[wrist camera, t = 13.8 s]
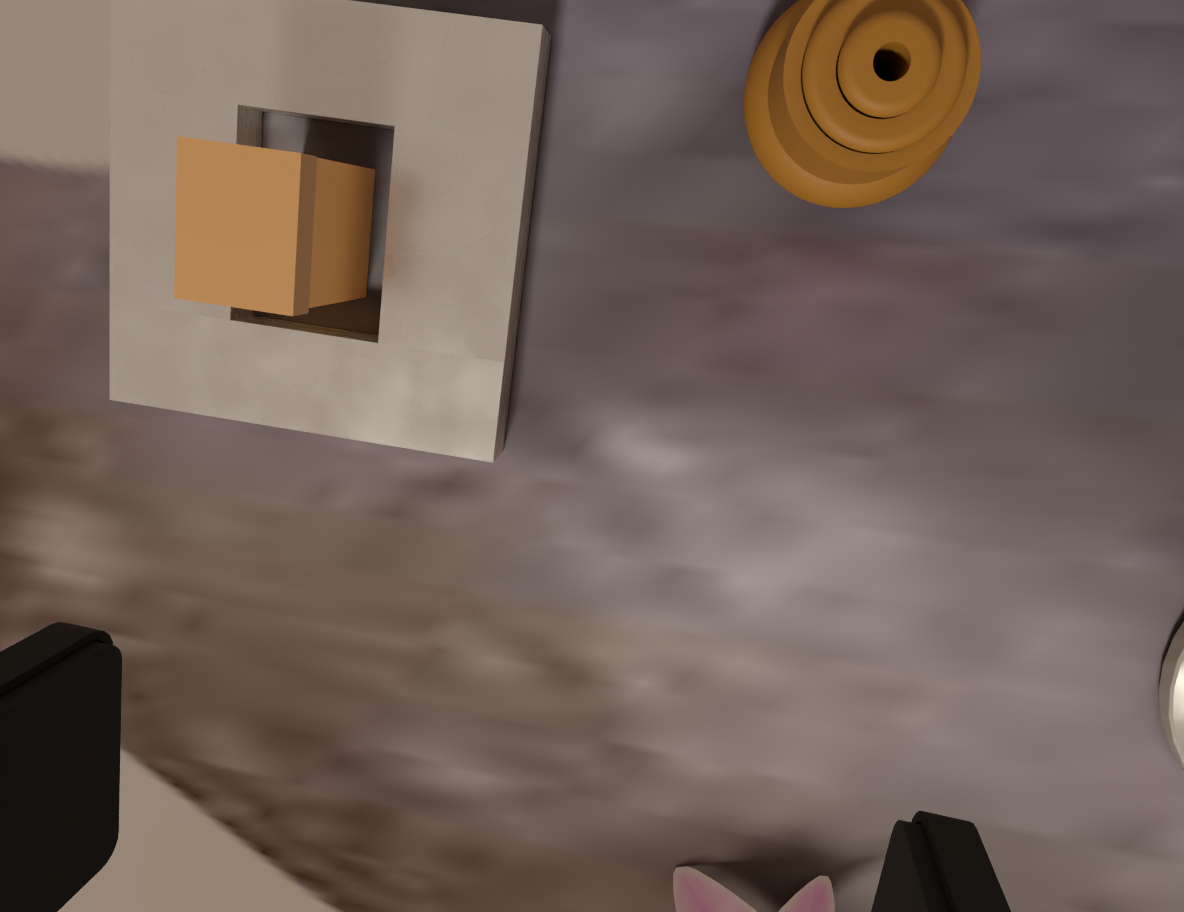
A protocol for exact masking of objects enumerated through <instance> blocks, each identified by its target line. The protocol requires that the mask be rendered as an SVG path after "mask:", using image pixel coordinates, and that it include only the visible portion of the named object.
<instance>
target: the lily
mask: <svg viewBox="0 0 1184 912" xmlns="http://www.w3.org/2000/svg"><path fill="white" fill-rule="evenodd" d="M673 891H674V899H675V907H676V912H757V911H756V910H755V909H754V908H752V907H751V906H750V905H748V904H747V903H746V902H744V901H743V900H742V899H740V898H739V897H738V896H736V895H735V894H734V893H732V892H731V891H729V890H728V889H726V888H725V887H724V886H722V885H721V884H719V883H718V882H716V881H715V880H713V879H711V878H710V877H708V876H706V875H705V874H703V873H701V872H700V871H698V870H695V869H693V868H691V867H688V866H686V867H676V869H675V871H674V874H673ZM778 912H835V905H834V894H833V889H832V884H831V880H830V879H829V877H828V876H818V877H817V878H815V879H814V880H812V881H811V882H809V883H808V884H807V885H806V886H804V887H803V888H802V889H801V890H800V891H799V892H797V893H796V894H795V895H794V896H793V897H792V898H791V899H790V900H789V901H788V902H787V903H786V904H785V905H784V906H783V907H782V908H781V909H780V910H779V911H778Z"/></svg>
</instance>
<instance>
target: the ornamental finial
mask: <svg viewBox="0 0 1184 912" xmlns="http://www.w3.org/2000/svg"><path fill="white" fill-rule="evenodd" d="M807 44H808V45H807ZM806 46H807V48H806ZM805 49H806V52H805ZM804 53H805V56H804ZM839 54H840V55H839ZM838 55H839V59H838V63H836V62H837V57H838ZM803 56H804V59H803ZM980 69H981V49H980V42H979V37H978V33H977V29H976V26H975V23H974V21H973V19H972V16H971V14H970V12H969V11H968V9H967V7H966V6H965V4H964V3H963V1H962V0H799V1H797V2H796V3H795V4H793V5H792V6H791V7H790V8H788V9H787V10H786V11H785V12H784V13H783V14H782V15H781V16H780V17H779V18H778V19H777V20H776V21H775V22H774V24H773V25H772V26H771V27H770V29H769V30H768V31H767V33H766V34H765V36H764V37H763V39H762V41H761V42H760V44H759V46H758V48H757V50H756V52H755V54H754V56H753V59H752V61H751V64H750V67H749V70H748V74H747V78H746V83H745V90H744V118H745V125H746V130H747V134H748V137H749V140H750V143H751V146H752V148H753V150H754V152H755V155H756V156H757V158H758V160H759V162H760V163H761V165H762V166H763V168H764V169H765V170H766V171H767V173H768V174H769V175H770V176H771V177H772V178H773V179H774V180H775V181H776V182H777V183H778V184H779V185H780V186H782V187H783V188H784V189H786V190H787V191H789V192H790V193H792V194H793V195H795V196H797V197H799V198H801V199H803V200H806V201H808V202H811V203H814V204H818V205H821V206H827V207H835V208H853V207H861V206H866V205H870V204H874V203H877V202H880V201H883V200H885V199H888V198H890V197H892V196H894V195H896V194H898V193H900V192H902V191H903V190H905V189H906V188H908V187H909V186H911V185H912V184H913V183H915V182H916V181H917V180H918V179H920V178H921V177H922V176H923V175H924V174H925V173H926V172H927V171H928V170H929V169H930V168H931V167H932V165H933V164H934V163H935V162H936V161H937V159H938V158H939V157H940V155H941V154H942V152H943V151H944V149H945V148H946V146H947V144H948V142H949V140H950V139H951V137H952V134H953V133H954V132H955V130H956V129H957V128H958V127H959V125H960V124H961V122H962V121H963V119H964V117H965V116H966V114H967V113H968V110H969V108H970V106H971V104H972V102H973V99H974V96H975V93H976V90H977V87H978V82H979V77H980ZM882 117H884V118H886V117H889V119H881V118H882ZM896 150H897V151H896ZM891 151H894V152H891ZM884 152H889V153H884ZM878 153H884V154H878Z"/></svg>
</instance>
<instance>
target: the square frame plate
mask: <svg viewBox="0 0 1184 912" xmlns="http://www.w3.org/2000/svg"><path fill="white" fill-rule="evenodd" d="M550 44H551V36H550V34H549V33H548V32H547V30H546V29H545V27H544V26H543V25H541V24H533V23H525V22H517V21H509V20H502V19H494V18H486V17H478V16H470V15H462V14H454V13H446V12H438V11H430V10H423V9H415V8H407V7H399V6H391V5H383V4H375V3H367V2H359V1H351V0H110V400H115V401H121V402H127V403H134V404H140V405H146V406H152V407H158V408H164V409H170V410H176V411H182V412H188V413H195V414H201V415H207V416H213V417H219V418H225V419H231V420H237V421H243V422H249V423H256V424H262V425H268V426H274V427H280V428H286V429H292V430H298V431H304V432H310V433H317V434H323V435H329V436H335V437H341V438H347V439H353V440H359V441H365V442H371V443H378V444H384V445H390V446H396V447H402V448H408V449H414V450H420V451H426V452H432V453H439V454H445V455H451V456H457V457H463V458H469V459H475V460H481V461H487V462H494V461H495V459H496V458H497V457H498V456H499V455H500V454H501V453H502V452H503V449H504V440H505V432H506V423H507V415H508V406H509V397H510V389H511V380H512V372H513V363H514V354H515V346H516V337H517V329H518V320H519V311H520V303H521V294H522V286H523V277H524V268H525V260H526V251H527V242H528V234H529V225H530V217H531V208H532V199H533V191H534V182H535V174H536V165H537V156H538V148H539V139H540V131H541V122H542V113H543V105H544V96H545V87H546V79H547V70H548V62H549V53H550ZM263 112H269V113H276V114H283V115H290V116H298V117H305V118H312V119H320V120H327V121H334V122H342V123H349V124H356V125H363V126H371V127H378V128H385V129H393V130H394V143H393V156H392V169H391V182H390V195H389V208H388V221H387V234H386V247H385V260H384V273H383V286H382V299H381V312H380V325H379V335H376V334H370V333H364V332H357V331H351V330H344V329H338V328H331V327H325V326H318V325H312V324H305V323H299V322H292V321H286V320H280V319H273V318H267V317H260V316H254V313H255V310H248V309H242V308H235V307H229V306H222V305H215V304H209V303H202V302H196V301H189V300H183V299H176V298H174V273H175V218H176V162H177V136H181V137H188V138H195V139H202V140H210V141H217V142H224V143H231V144H238V145H246V146H253V147H260V148H261V144H262V120H263Z"/></svg>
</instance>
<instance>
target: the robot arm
mask: <svg viewBox="0 0 1184 912" xmlns="http://www.w3.org/2000/svg"><path fill="white" fill-rule="evenodd" d="M121 681H122V656H121V652H120V650H119V648H117V647H116V646H113V641H112V639H111V637H110V635H109V634H107V633H106V632H105V631H101V630H97V629H92V628H88V627H83V626H78V625H74V624H69V623H64V622H57V623H54V624H51V625H49V626H47V627H45V628H44V629H42V630H40V631H38V632H36V633H34V634H33V635H31V636H29V637H27V638H25V639H23V640H21V641H20V642H18V643H16V644H14V645H12V646H10V647H9V648H7V649H5V650H3V651H1V652H0V912H57V911H58V910H59V909H60V908H62V907H63V906H64V905H65V904H66V903H67V902H68V901H69V900H70V899H71V898H72V897H73V896H74V895H75V894H76V893H77V892H78V891H79V890H80V889H81V888H82V887H83V886H84V885H85V884H86V883H87V882H88V881H89V880H90V879H91V878H93V876H95V874H97V873H98V872H99V871H100V870H101V869H102V868H103V866H104V865H105V864H106V863H107V862H108V860H109V858H110V857H111V855H112V853H113V851H114V848H115V846H116V843H117V839H118V832H119V784H120V783H119V782H120V733H121ZM1158 692H1159V707H1160V719H1161V722H1162V726H1163V729H1164V732H1165V736H1166V739H1167V742H1168V744H1169V746H1170V748H1171V749H1172V751H1173V753H1174V755H1175V756H1176V758H1177V760H1178V762H1179V763H1180V765H1181V766H1182V767H1183V769H1184V622H1183V623H1182V625H1181V626H1180V628H1179V629H1178V631H1177V633H1176V634H1175V636H1174V637H1173V640H1172V642H1171V645H1170V647H1169V650H1168V652H1167V655H1166V658H1165V660H1164V663H1163V667H1162V673H1161V679H1160V685H1159V691H1158ZM871 912H1011V911H1010V908H1009V906H1008V903H1007V901H1006V898H1005V896H1004V894H1003V891H1002V889H1001V886H1000V884H999V882H998V879H997V877H996V874H995V872H994V869H993V867H992V865H991V862H990V860H989V857H988V855H987V853H986V850H985V848H984V845H983V843H982V840H981V838H980V836H979V833H978V831H977V829H976V827H975V825H974V824H973V823H971V822H969V821H965V820H960V819H956V818H951V817H947V816H942V815H938V814H933V813H928V812H924V811H918V812H917V813H916V814H915V816H914V817H913V819H912V822H906V821H902V820H898V821H897V822H896V824H895V825H894V828H893V831H892V834H891V838H890V842H889V846H888V850H887V853H886V857H885V861H884V865H883V869H882V872H881V876H880V880H879V884H878V888H877V891H876V895H875V899H874V903H873V907H872V910H871Z"/></svg>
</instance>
